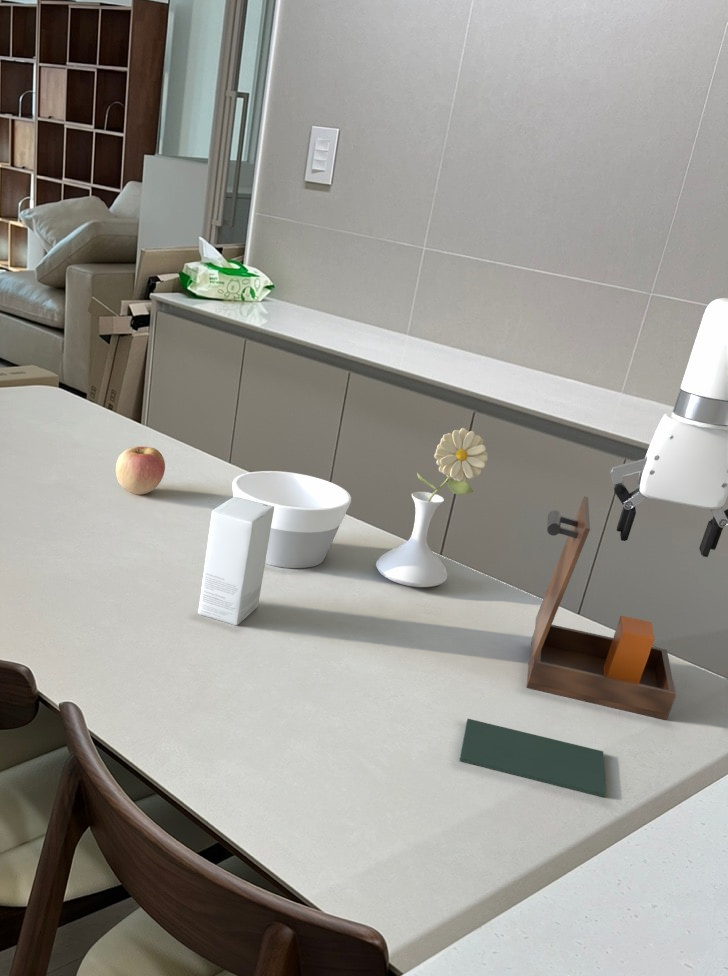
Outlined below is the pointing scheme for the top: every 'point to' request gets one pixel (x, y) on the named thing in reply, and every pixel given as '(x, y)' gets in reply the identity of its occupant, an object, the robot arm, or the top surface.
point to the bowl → (296, 514)
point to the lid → (561, 568)
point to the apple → (140, 469)
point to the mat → (534, 757)
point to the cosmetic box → (235, 559)
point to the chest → (599, 674)
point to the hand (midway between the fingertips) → (662, 545)
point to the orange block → (629, 649)
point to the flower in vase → (415, 558)
